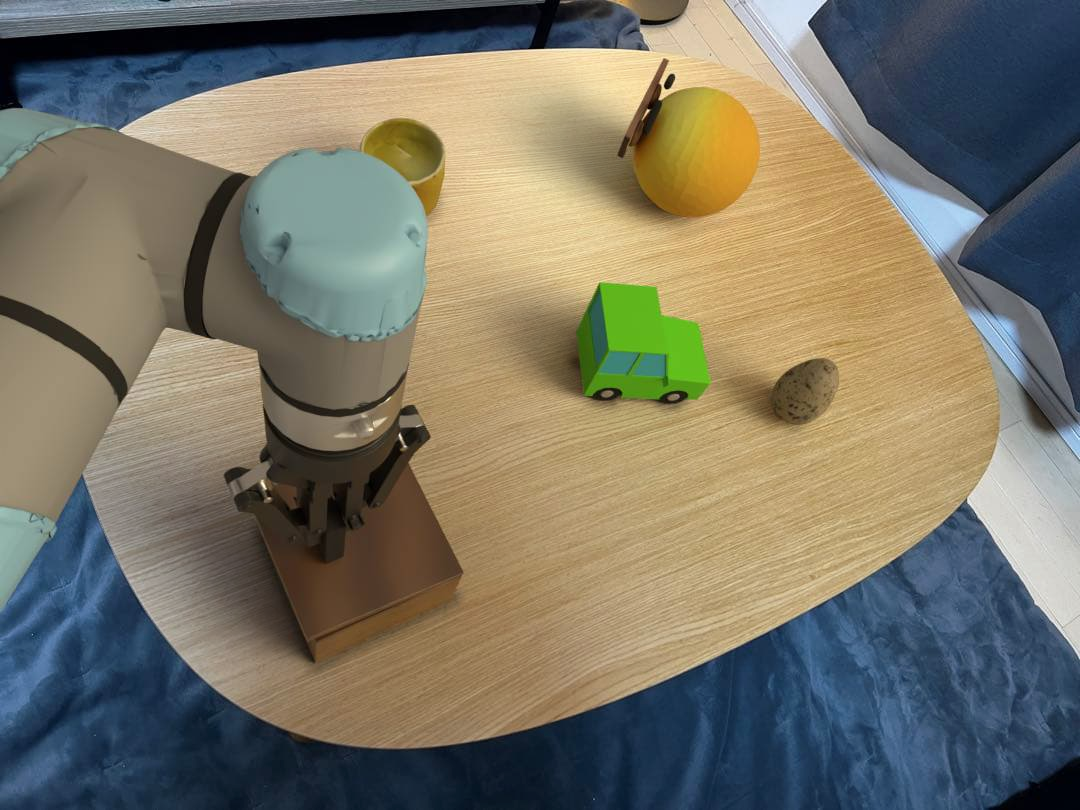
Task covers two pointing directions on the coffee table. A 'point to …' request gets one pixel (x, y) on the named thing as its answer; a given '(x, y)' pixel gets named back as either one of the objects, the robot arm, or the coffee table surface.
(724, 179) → the emoji
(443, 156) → the mug
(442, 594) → the chest
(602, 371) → the toy car
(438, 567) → the chest lid
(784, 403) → the decorative egg
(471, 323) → the coffee table surface
